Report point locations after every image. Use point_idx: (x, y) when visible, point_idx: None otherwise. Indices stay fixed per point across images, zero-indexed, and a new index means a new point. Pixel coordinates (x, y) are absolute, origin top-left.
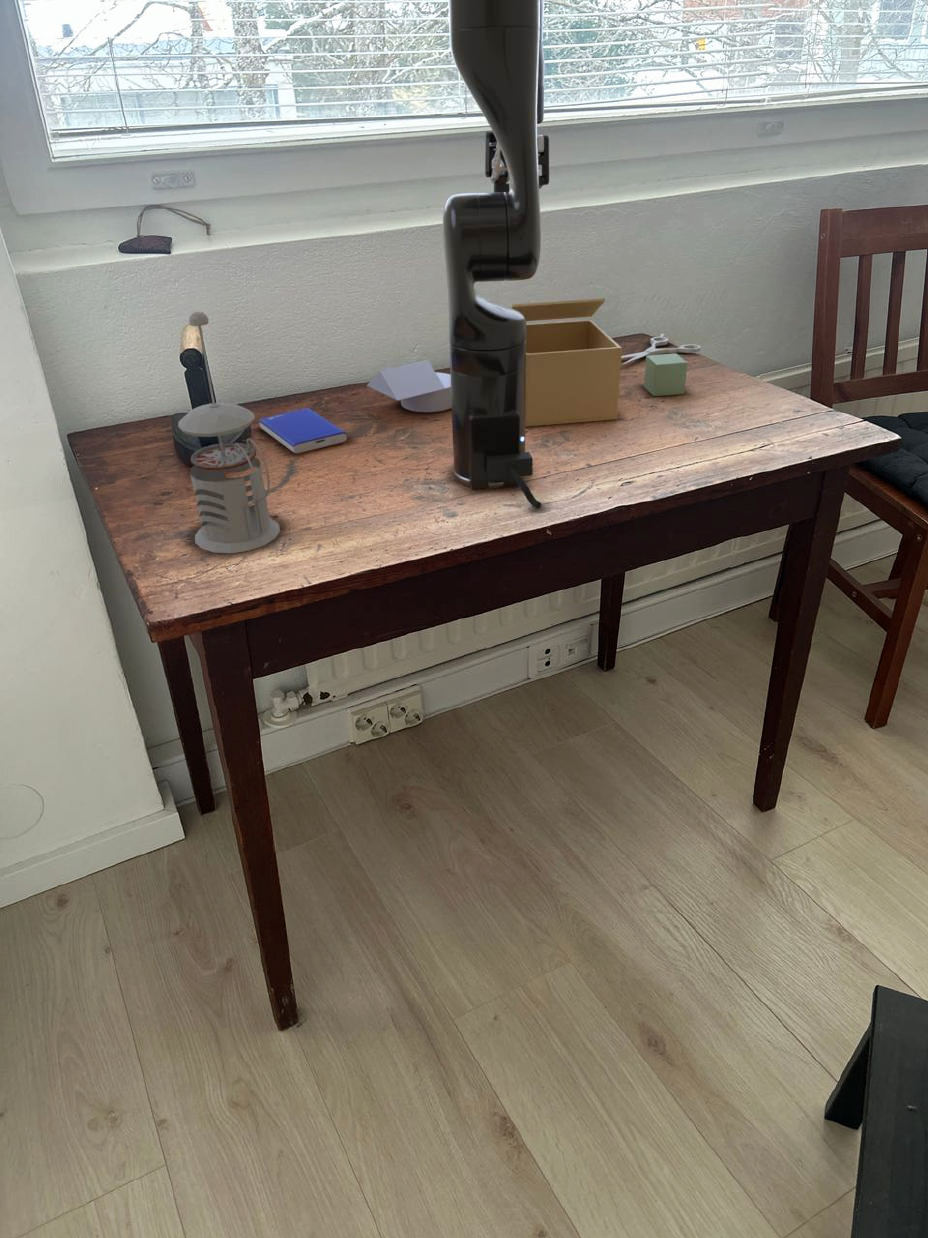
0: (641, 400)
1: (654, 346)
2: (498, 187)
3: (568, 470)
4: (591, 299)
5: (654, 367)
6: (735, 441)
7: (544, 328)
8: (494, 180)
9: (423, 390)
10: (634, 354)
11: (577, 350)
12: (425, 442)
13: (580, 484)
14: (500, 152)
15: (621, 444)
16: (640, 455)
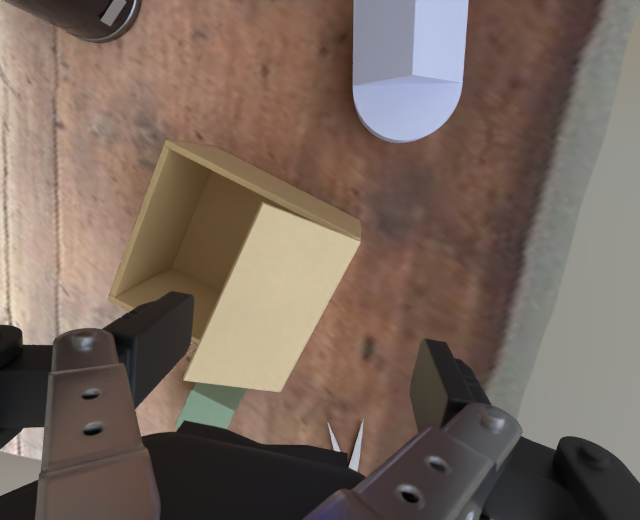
0: None
1: None
2: (439, 400)
3: (58, 92)
4: (193, 356)
5: (200, 388)
6: (37, 318)
7: None
8: (467, 409)
9: (358, 36)
10: (353, 469)
11: (135, 232)
12: None
13: (15, 74)
14: (326, 501)
15: (95, 208)
16: (55, 200)
